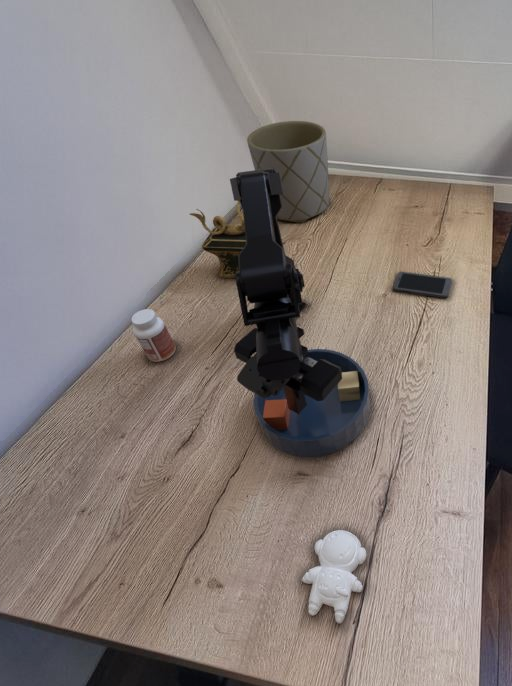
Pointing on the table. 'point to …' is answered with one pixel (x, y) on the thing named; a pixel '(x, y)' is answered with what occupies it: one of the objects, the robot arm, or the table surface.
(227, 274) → the decorative box
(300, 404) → the dark brown wooden bar
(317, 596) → the astronaut figurine
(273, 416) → the terracotta block
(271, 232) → the robot arm
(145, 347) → the pill bottle
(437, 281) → the cell phone
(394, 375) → the table surface
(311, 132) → the planter
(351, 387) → the maple block
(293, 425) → the bowl
